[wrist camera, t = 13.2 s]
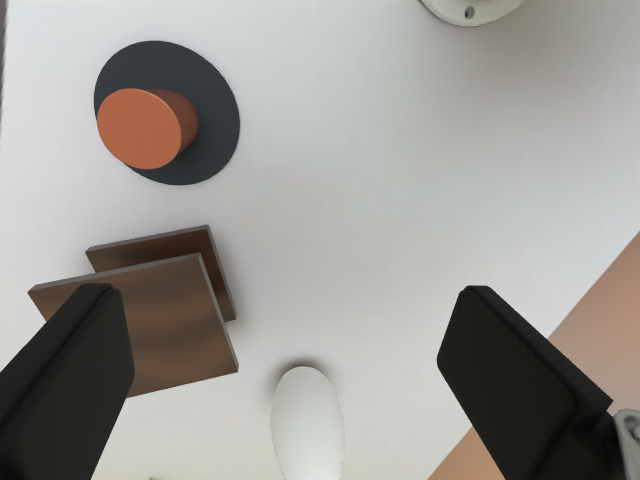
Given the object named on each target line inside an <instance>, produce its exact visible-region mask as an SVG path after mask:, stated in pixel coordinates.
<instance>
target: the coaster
mask: <svg viewBox="0 0 640 480" xmlns="http://www.w3.org/2000/svg"><path fill="white" fill-rule="evenodd" d="M131 88H166V89H171V90H174V91H177V92H178V93H180V94H182V95H183V96H185V97H186V98H187V99H188V100H189V101H190V102H191V104H192V105H193V106H194V108H195V110H196V112H197V115H198V119H199V131H198V134H197V137H196V138H195V140H194V141H193V143H192V144H190V145H189V146H188V147H187V148H186V149H185V150H183V151H182V152H181V153H180V154H179V155H177V156H176V157H175V158H174V159H173V160H171V161H170V162H169V163H167V164H166V165H164V166H162V167H159V168H155V169H140V168H136V167H133V166H130V165H128V164H125V163H124V162H123V163H124V164H125V165H127V166H128V167H129V168H131V169H132V170H133V171H135V172H137V173H138V174H140V175H142V176H144V177H146V178H148V179H150V180H153V181H156V182H159V183H164V184H169V185H188V184H194V183H198V182H201V181H204V180H206V179H208V178H210V177H211V176H213V175H215V174H216V173H217V172H219V171H220V170H221V169H222V168H223V167H224V166H225V165H226V163H227V162H228V161H229V159H230V158H231V156H232V154H233V152H234V150H235V148H236V145H237V141H238V137H239V128H240V121H239V112H238V108H237V104H236V101H235V98H234V95H233V93H232V91H231V89H230V87H229V85H228V84H227V82H226V81H225V79H224V78H223V76H222V75H221V74H220V73H219V71H218V70H217V69H216V68H215V67H214V66H213V65H212V64H211V63H210V62H208V61H207V60H206V59H204V58H203V57H202V56H200V55H199V54H197V53H195V52H194V51H192V50H190V49H188V48H185V47H183V46H181V45H177V44H174V43H170V42H164V41H144V42H139V43H135V44H132V45H129V46H127V47H125V48H123V49H121V50H120V51H118V52H117V53H116V54H114V55H113V56H112V57H111V58H110V59H109V60H108V61H107V63H106V64H105V65H104V67H103V68H102V70H101V72H100V74H99V76H98V79H97V82H96V86H95V92H94V109H95V116H96V120H97V117H98V112H99V108H100V106H101V104H102V103H103V101H104V100H105V99H106V98H107V97H108V96H109V95H111V94H112V93H114V92H116V91H119V90H122V89H131Z"/></svg>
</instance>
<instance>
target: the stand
mask: <svg viewBox="0 0 640 480" xmlns="http://www.w3.org/2000/svg"><path fill="white" fill-rule="evenodd" d="M85 253H86V255H87V257H88V259H89V261H90V263H91V264H92V266H93V268H94V270H95V272H96V273H93V274H88V275H83V276H78V277H73V278H68V279H63V280H58V281H53V282H48V283H43V284H38V285H35V286H34V287H32V288H31V289H30V290H29V291H28V294H29V296H30V297H31V299H32V300H33V302H34V303H35V305H36V306H37V308H38V309H39V311H40V313H41V314H42V316H43V317H44V319H45V320H46V322H47V321H48V320H49V319H50V318H51V317H52V316H53V315H54V313H55V312H56V311H57V310H58V309H59V308H60V307H61V306H62V305H63V303H64V302H65V301H66V300H67V299H68V298H69V297H70V296H71V295H72V293H73V292H74V291H75V290H76V289H77V288H78V287H79V286H80V285H81V284H83V283H110V284H112V286H113V288H114V289H119V290H120V291H121V294H122V300H123V305H124V311H125V316H126V322H127V327H128V333H129V338H130V344H131V349H132V355H133V360H134V366H135V376H134V380H133V383H132V386H131V388H130V390H129V393H128V395H127V397H126V398H129V397H134V396H138V395H142V394H146V393H151V392H155V391H159V390H163V389H168V388H172V387H176V386H181V385H185V384H189V383H193V382H198V381H202V380H206V379H211V378H215V377H219V376H223V375H228V374H232V373H236V372H238V368H239V363H238V360H237V357H236V355H235V352H234V349H233V346H232V343H231V340H230V337H229V334H228V332H227V329H226V326H225V323H224V322H227V321H232V320H236V317H237V313H236V310H235V307H234V304H233V301H232V297H231V294H230V291H229V288H228V285H227V282H226V279H225V276H224V273H223V269H222V266H221V263H220V260H219V257H218V254H217V251H216V248H215V244H214V241H213V238H212V235H211V232H210V229H209V226H208V225H204V226H199V227H194V228H189V229H183V230H178V231H173V232H168V233H162V234H157V235H152V236H147V237H142V238H136V239H131V240H126V241H121V242H115V243H110V244H105V245H100V246H95V247H90V248H89V249H88V250H87V251H86V252H85Z"/></svg>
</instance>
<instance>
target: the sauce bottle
mask: <svg viewBox="0 0 640 480" xmlns="http://www.w3.org/2000/svg"><path fill="white" fill-rule="evenodd" d="M271 434H272V441H273V446H274V451H275V454H276V458H277V461H278V464H279V467H280V470H281V472H282V474H283V477H284V479H285V480H340V477H341V472H342V466H343V459H344V423H343V416H342V411H341V407H340V403H339V400H338V397H337V395H336V392H335V390H334V388H333V386H332V385H331V383H330V382H329V381H328V379H327V378H326V377H325V376H324V375H323V374H322V373H321V372H320V371H318V370H317V369H314V368H311V367H304V366H301V367H296V368H293V369H291V370H289V371H288V372H286V373H285V374H284V376H283V377H282V378H281V380H280V382H279V384H278V386H277V388H276V390H275V393H274V397H273V400H272V406H271Z"/></svg>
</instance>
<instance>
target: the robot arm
mask: <svg viewBox="0 0 640 480" xmlns="http://www.w3.org/2000/svg"><path fill="white" fill-rule="evenodd" d="M421 1H422V2H423V3H424V4H425V6H426V7H427V8H428V9H429V10H430V11H431V12H432V13H434V14H435V15H436V16H437V17H438V18H440V19H442V20H444V21H446V22H448V23H450V24H454V25H459V26H478V25H482V24H486V23H490V22H492V21H495V20H497V19H499V18H502V17H504V16H505V15H507V14H508V13H510V12H511V11H513V10H514V9H516V8H517V7H518V6H519V5H520V4H521V3H522V2H523V1H524V0H421ZM465 13H466V16H465ZM437 365H438V368H439V370H440V372H441V374H442V375H443V377H444V379H445V380H446V382H447V383H448V385H449V387H450V388H451V390H452V392H453V393H454V395H455V397H456V398H457V400H458V402H459V403H460V405H461V407H462V408H463V410H464V412H465V413H466V415H467V417H468V418H469V420H470V422H471V423H472V425H473V427H474V428H475V430H476V431H477V433H478V435H479V436H480V438H481V440H482V441H483V443H484V445H485V446H486V448H487V450H488V451H489V453H490V455H491V456H492V458H493V460H494V461H495V463H496V465H497V466H498V468H499V470H500V471H501V473H502V475H503V476H504V478H505V480H640V411H638V410H633V409H622V410H619V411H618V412H617V413H616V414H615V415H614V417H612V416H611V415H610V414H609V413H608V412H607V409H608V407H609V406H610V405H611V403H612V401H613V400H612V399H611V398H610V397H609V396H608V395H607V394H606V393H605V392H603V391H602V390H601V389H600V388H599V387H598V386H597V385H596V384H595V383H594V382H593V381H592V380H590V379H589V378H588V377H587V376H586V375H585V374H584V373H583V372H582V371H581V370H580V369H579V368H577V367H576V366H575V365H574V364H573V363H572V362H571V361H570V360H569V359H568V358H566V357H565V356H564V355H563V354H562V353H561V352H560V351H559V350H558V349H557V348H556V347H555V346H553V345H552V344H551V343H550V342H549V341H548V340H547V339H546V338H545V337H544V336H543V335H541V334H540V333H539V332H538V331H537V330H536V329H535V328H534V327H533V326H532V325H531V324H529V323H528V322H527V321H526V320H525V319H524V318H523V317H522V316H521V315H520V314H519V313H517V312H516V311H515V310H514V309H513V308H512V307H511V306H510V305H509V304H508V303H507V302H506V301H504V300H503V299H502V298H501V297H500V296H499V295H498V294H497V293H496V292H495V291H494V290H492V289H491V288H490V287H488V286H466V287H465V288H464V290H463V291H461V292H460V293H459V295H458V298H457V301H456V304H455V307H454V310H453V312H452V315H451V318H450V321H449V324H448V327H447V330H446V333H445V335H444V338H443V341H442V344H441V347H440V350H439V353H438V356H437ZM134 376H135V366H134V360H133V355H132V349H131V344H130V338H129V333H128V327H127V322H126V316H125V311H124V305H123V300H122V294H121V291H120V290H119V289H114V288H113V286H112V284H110V283H83V284H81V285H80V286H79V287H78V288H77V289H76V290H75V291H74V292H73V293H72V295H71V296H70V297H69V298H68V299H67V300H66V301H65V302H64V303H63V305H62V306H61V307H60V308H59V309H58V310H57V311H56V312H55V313H54V315H53V316H52V317H51V318H50V319H49V320H48V321H47V322H46V323H45V324H44V326H43V327H42V328H41V329H40V330H39V331H38V332H37V333H36V334H35V336H34V337H33V338H32V339H31V340H30V341H29V342H28V343H27V344H26V345H25V346H24V347H23V348H22V349H21V350H20V351H19V352H18V354H17V355H16V356H15V357H14V358H13V359H12V360H11V361H10V362H9V363H8V365H7V366H6V367H5V368H4V369H3V370H2V371H1V372H0V480H91V477H92V475H93V473H94V471H95V468H96V466H97V464H98V461H99V459H100V457H101V455H102V452H103V450H104V448H105V445H106V443H107V441H108V438H109V436H110V434H111V432H112V429H113V427H114V425H115V422H116V420H117V418H118V416H119V413H120V411H121V409H122V406H123V404H124V402H125V400H126V397H127V395H128V393H129V390H130V388H131V386H132V383H133V380H134Z"/></svg>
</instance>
